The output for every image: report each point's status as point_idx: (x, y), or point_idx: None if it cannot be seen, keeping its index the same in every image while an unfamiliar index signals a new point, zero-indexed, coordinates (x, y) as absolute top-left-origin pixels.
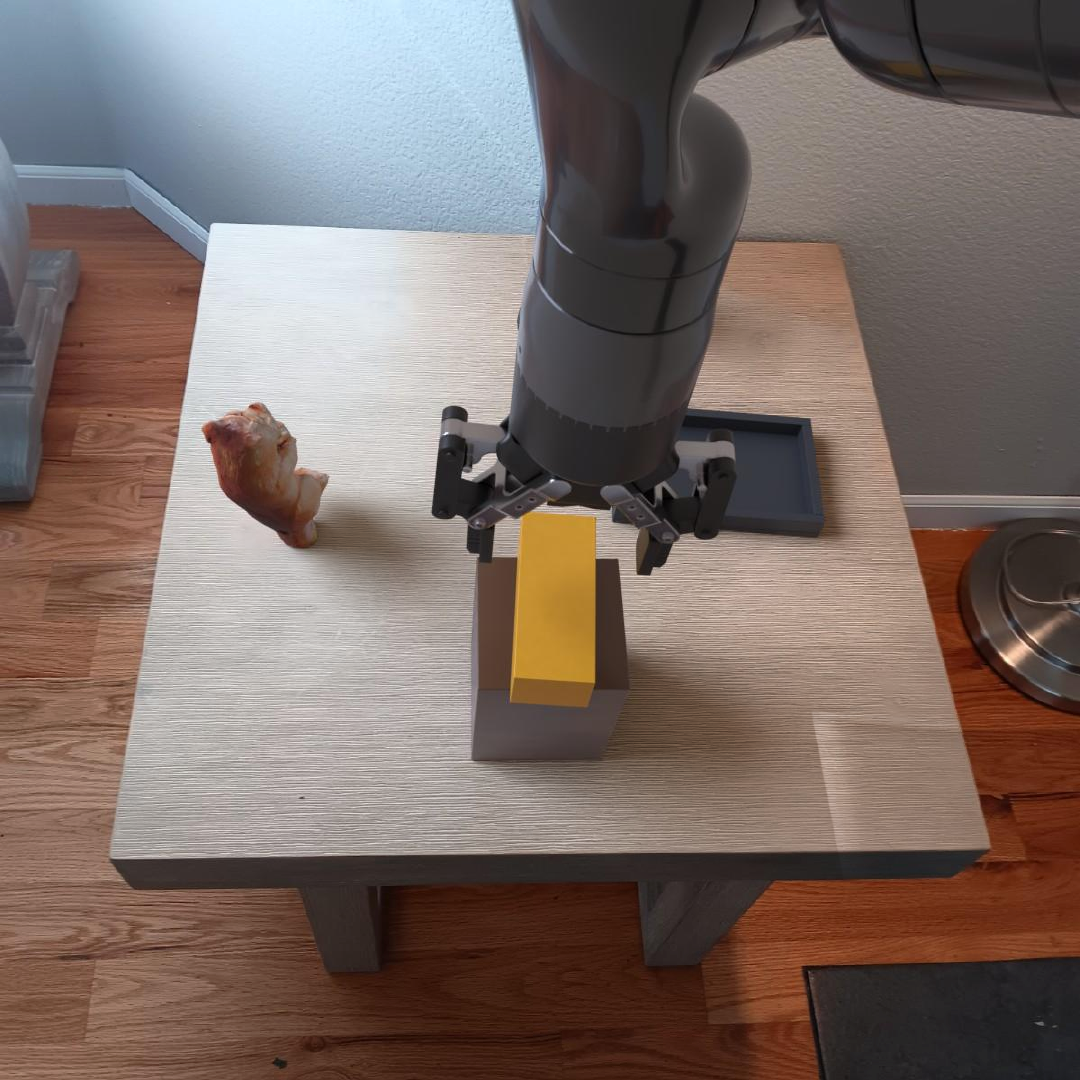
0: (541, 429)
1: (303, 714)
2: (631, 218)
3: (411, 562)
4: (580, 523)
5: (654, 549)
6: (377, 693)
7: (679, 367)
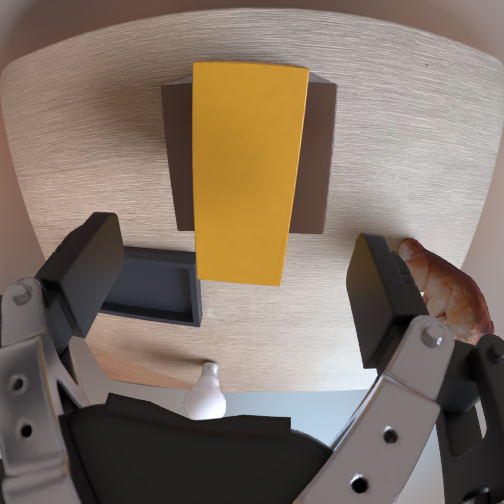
0: None
1: (424, 122)
2: None
3: (342, 226)
4: (214, 272)
5: (59, 263)
6: (376, 130)
7: None
